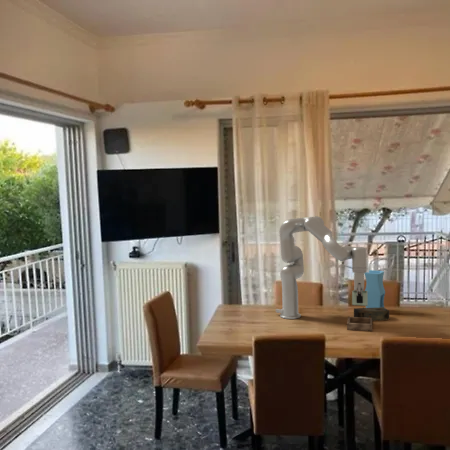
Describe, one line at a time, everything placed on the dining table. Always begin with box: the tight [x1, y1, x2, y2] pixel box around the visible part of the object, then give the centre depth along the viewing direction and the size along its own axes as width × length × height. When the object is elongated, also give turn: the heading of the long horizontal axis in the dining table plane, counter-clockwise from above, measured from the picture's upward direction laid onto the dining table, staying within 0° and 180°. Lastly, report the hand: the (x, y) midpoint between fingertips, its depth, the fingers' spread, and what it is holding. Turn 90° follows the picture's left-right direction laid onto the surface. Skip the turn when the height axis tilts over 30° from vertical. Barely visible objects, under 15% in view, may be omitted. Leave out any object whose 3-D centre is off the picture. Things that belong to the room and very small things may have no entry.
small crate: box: [351, 289, 368, 307], centre depth 250 cm, size 8×6×7 cm
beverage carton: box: [353, 306, 390, 322], centre depth 266 cm, size 8×19×7 cm, turn 96°
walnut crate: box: [346, 316, 373, 332], centre depth 251 cm, size 13×14×4 cm
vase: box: [364, 269, 386, 308], centre depth 282 cm, size 10×10×25 cm
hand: (359, 301), depth 250 cm, fingers closed on small crate, 6 cm apart
